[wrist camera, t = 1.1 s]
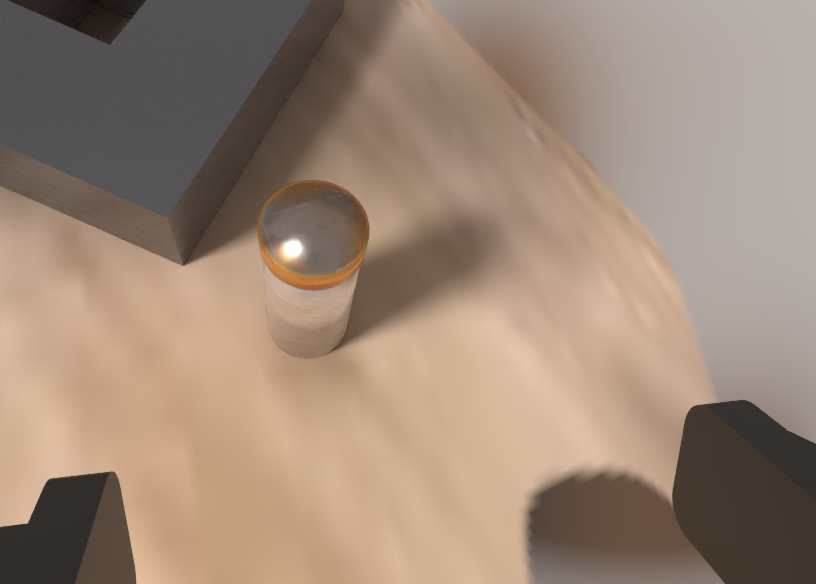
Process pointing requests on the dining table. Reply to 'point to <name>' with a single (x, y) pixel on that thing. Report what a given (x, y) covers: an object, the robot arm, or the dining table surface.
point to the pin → (311, 264)
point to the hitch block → (147, 106)
